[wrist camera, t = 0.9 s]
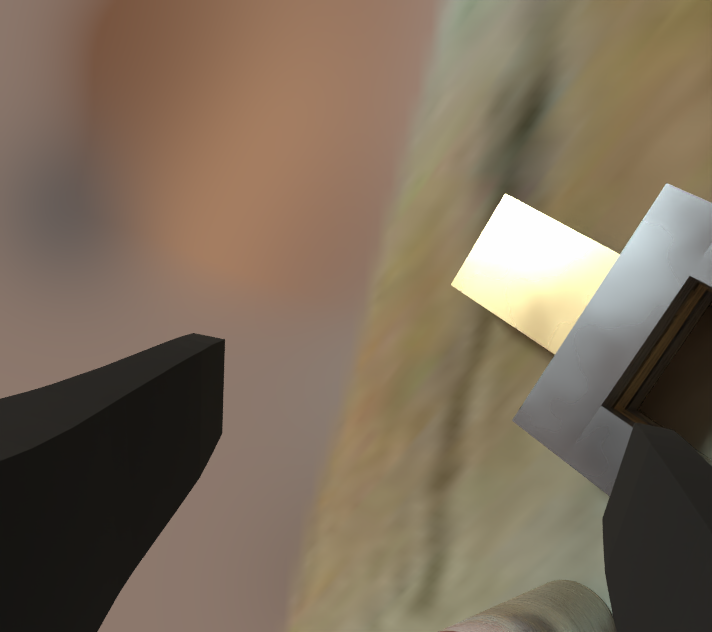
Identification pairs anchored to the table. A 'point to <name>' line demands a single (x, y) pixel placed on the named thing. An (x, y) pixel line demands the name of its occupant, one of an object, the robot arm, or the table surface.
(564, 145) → the table surface
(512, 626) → the clear red-capped cylinder
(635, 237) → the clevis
